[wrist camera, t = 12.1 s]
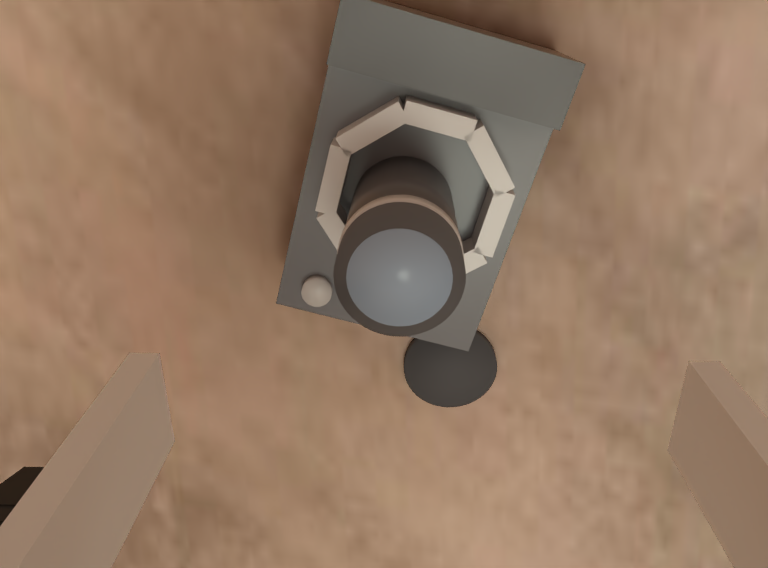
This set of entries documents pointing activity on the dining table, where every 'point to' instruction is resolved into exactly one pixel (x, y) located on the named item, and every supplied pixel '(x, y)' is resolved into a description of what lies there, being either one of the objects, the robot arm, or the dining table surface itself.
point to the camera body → (426, 141)
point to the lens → (400, 250)
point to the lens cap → (450, 371)
